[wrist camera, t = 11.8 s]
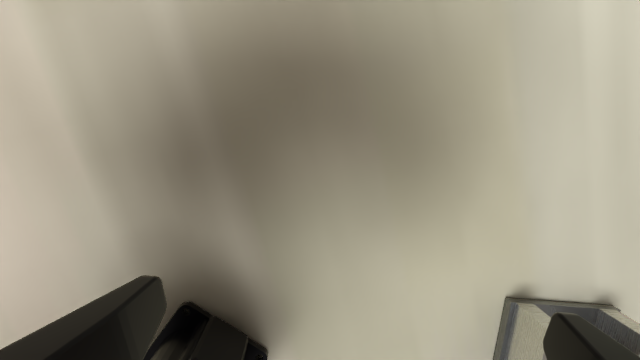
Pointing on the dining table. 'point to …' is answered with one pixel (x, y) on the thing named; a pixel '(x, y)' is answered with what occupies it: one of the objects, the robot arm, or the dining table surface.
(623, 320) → the door track
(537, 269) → the dining table surface
